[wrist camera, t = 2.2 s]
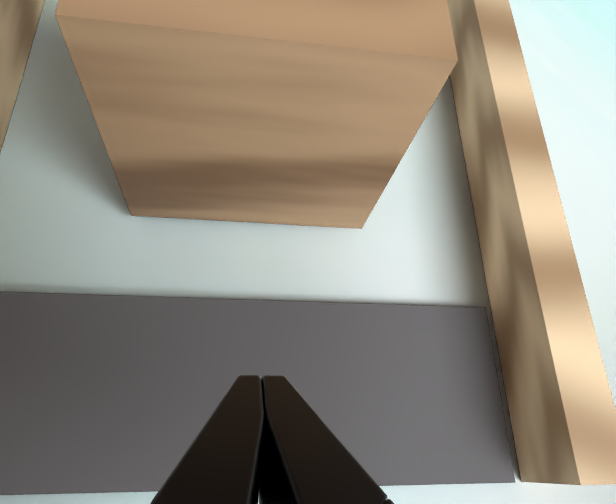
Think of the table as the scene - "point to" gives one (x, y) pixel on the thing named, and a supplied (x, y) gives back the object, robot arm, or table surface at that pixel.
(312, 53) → the wooden block
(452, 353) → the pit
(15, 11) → the channel
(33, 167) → the table surface
